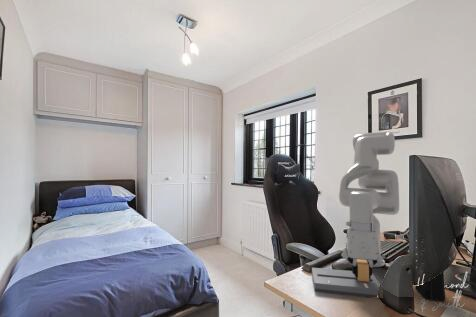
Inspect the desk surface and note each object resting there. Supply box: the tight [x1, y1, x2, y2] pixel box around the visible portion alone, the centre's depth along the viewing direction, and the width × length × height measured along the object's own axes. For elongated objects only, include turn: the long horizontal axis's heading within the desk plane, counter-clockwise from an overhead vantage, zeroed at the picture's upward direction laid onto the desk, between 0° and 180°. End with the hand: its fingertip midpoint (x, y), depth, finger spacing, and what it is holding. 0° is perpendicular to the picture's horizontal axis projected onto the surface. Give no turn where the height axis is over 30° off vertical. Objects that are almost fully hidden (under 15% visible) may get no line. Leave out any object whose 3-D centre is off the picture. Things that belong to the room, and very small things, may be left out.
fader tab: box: [356, 259, 369, 282], centre depth 85 cm, size 4×4×8 cm
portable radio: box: [414, 271, 446, 302], centre depth 79 cm, size 8×6×25 cm
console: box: [311, 267, 381, 298], centre depth 86 cm, size 12×22×3 cm, turn 77°
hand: (362, 275), depth 85 cm, fingers closed on fader tab, 3 cm apart
